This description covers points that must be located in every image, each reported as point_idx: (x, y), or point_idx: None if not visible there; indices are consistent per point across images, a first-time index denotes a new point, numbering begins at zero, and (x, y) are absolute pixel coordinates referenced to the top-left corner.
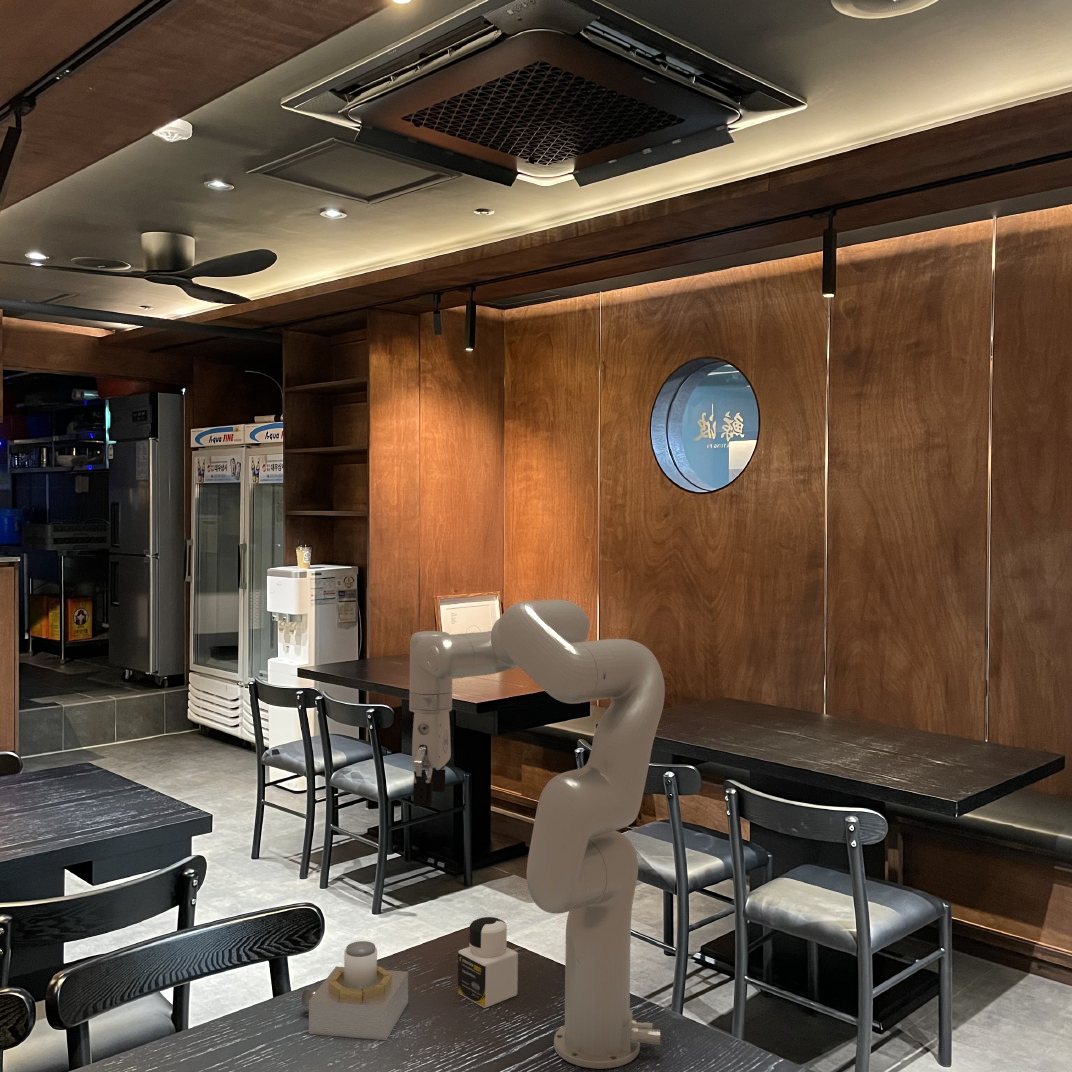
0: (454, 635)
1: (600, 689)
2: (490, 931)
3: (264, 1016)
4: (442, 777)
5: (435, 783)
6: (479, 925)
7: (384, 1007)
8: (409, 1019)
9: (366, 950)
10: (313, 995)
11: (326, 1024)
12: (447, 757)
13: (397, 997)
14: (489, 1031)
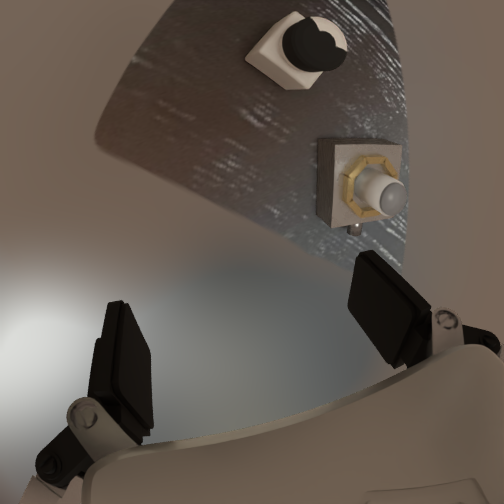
0: None
1: None
2: (344, 38)
3: (351, 252)
4: (123, 359)
5: (138, 356)
6: (339, 54)
7: (401, 147)
8: (347, 127)
9: (402, 190)
10: (385, 218)
11: None
12: (260, 476)
13: (366, 142)
14: (354, 47)
